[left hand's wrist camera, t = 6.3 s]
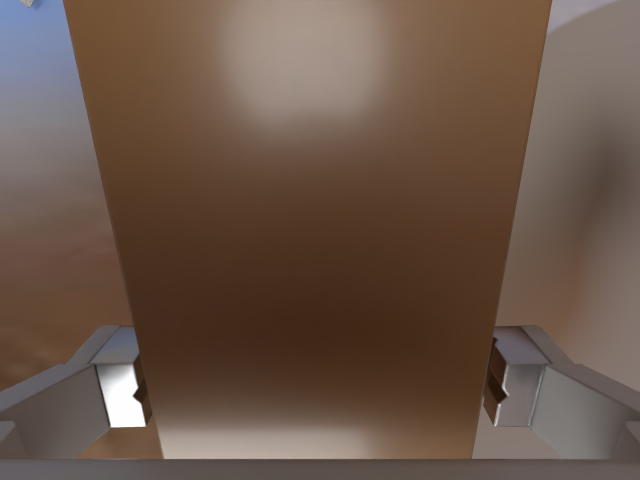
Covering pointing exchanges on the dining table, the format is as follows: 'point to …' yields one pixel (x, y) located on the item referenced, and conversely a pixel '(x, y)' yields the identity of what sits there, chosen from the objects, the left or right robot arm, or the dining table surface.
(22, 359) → the dining table surface
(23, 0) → the baking ingredient package
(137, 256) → the box
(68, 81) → the dining table surface
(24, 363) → the dining table surface
